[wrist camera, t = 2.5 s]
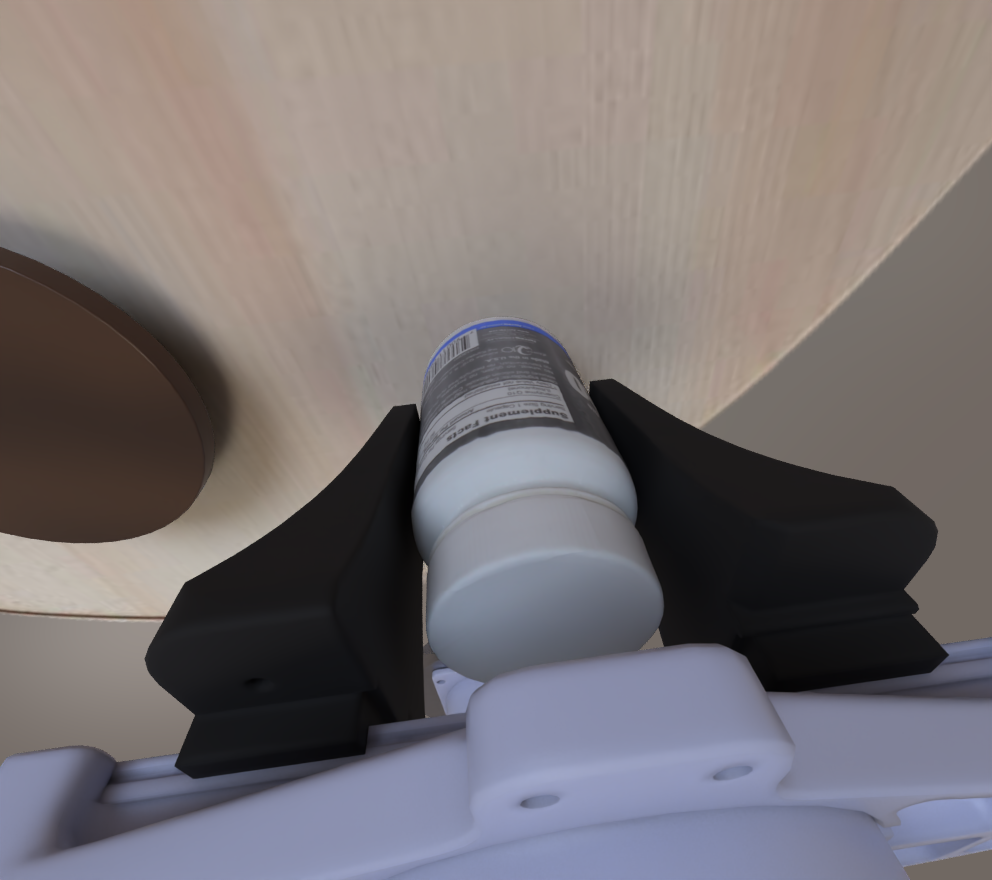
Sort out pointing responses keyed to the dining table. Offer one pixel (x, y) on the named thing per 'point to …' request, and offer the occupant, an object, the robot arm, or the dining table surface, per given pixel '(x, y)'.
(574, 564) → the pill bottle
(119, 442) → the stand
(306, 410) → the dining table surface
